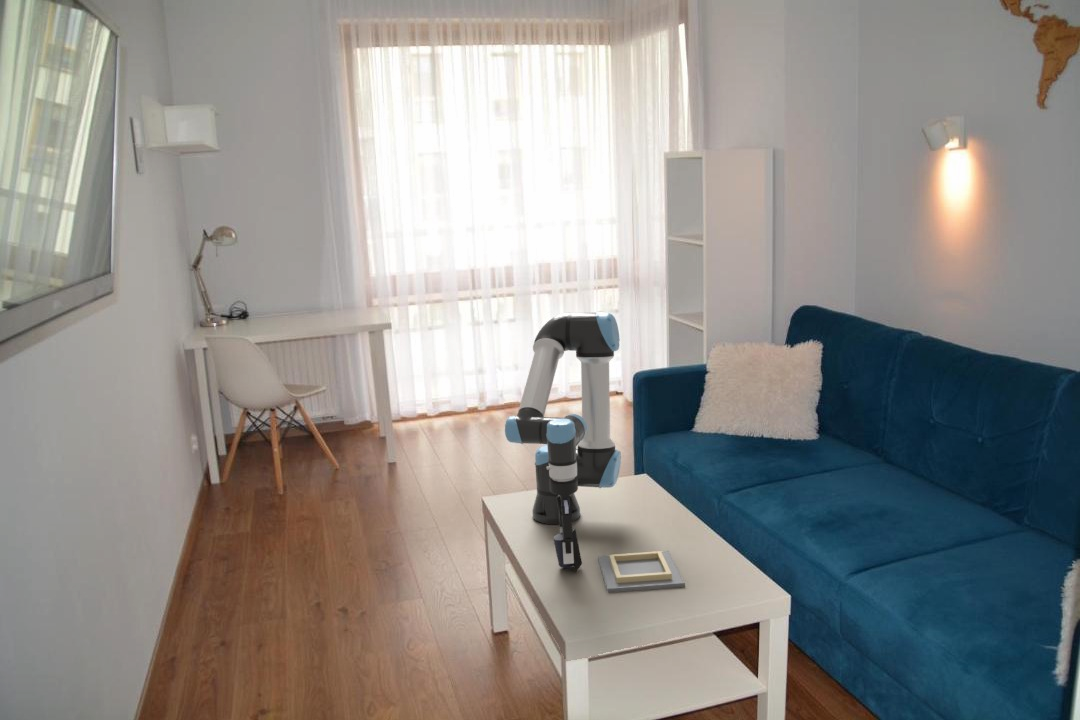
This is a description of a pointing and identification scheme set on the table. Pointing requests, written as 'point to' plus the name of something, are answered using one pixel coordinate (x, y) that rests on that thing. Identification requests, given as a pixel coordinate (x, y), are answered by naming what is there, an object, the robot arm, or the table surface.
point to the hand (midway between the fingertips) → (567, 556)
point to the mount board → (640, 571)
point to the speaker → (559, 551)
